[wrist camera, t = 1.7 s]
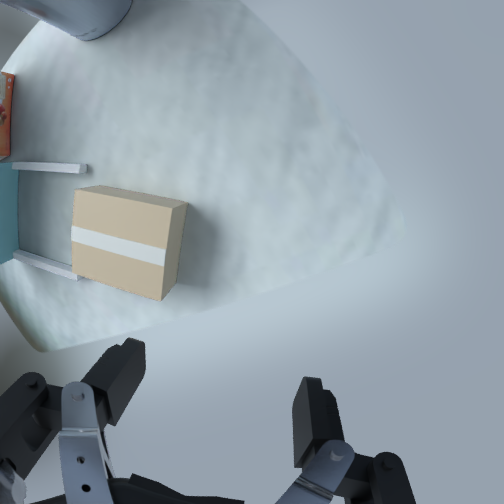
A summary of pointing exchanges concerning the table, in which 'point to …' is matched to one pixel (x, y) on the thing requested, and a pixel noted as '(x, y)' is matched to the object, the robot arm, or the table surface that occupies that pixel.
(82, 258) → the kraft carton
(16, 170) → the display stand
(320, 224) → the table surface
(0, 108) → the cracker box
